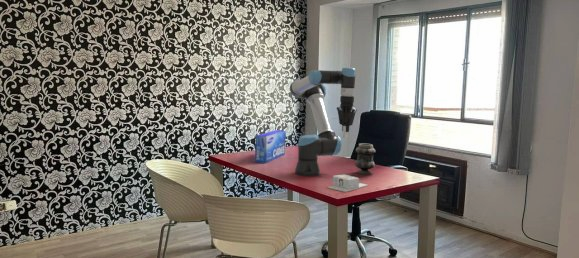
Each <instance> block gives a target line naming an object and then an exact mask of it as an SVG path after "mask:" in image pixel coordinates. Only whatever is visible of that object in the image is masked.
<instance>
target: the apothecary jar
mask: <svg viewBox="0 0 579 258" xmlns="http://www.w3.org/2000/svg"><path fill="white" fill-rule="evenodd" d="M355 152H356V153H357V157H356V160H355V162H354V165H355V166H356V168H358V169H359V170H357V171H356V174H357V175H364V176H365V175H366V176H369V175H373V172H372V171H371V169H374V168H375V166H376V164H375V162H374V154H375V153H376V149H375V148H374V145H373V144H371V143H366V142H365V143H364V142H363V143H358V147H356V149H355Z"/></svg>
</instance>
